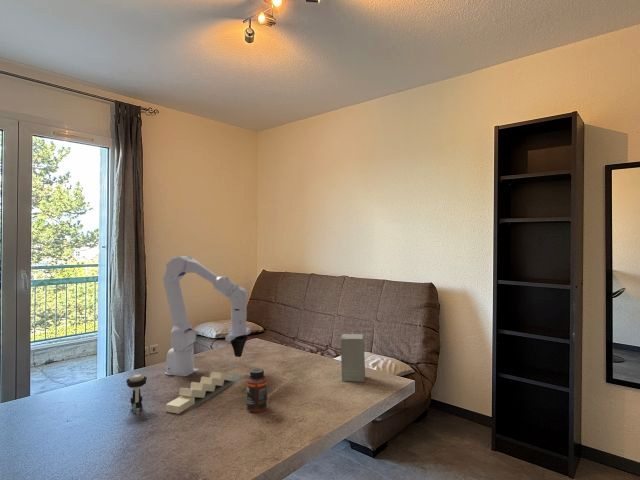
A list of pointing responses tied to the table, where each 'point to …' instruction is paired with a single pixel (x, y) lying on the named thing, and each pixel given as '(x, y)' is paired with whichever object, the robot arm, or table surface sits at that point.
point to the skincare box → (353, 357)
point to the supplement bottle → (256, 391)
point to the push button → (136, 390)
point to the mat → (215, 390)
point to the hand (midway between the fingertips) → (238, 356)
